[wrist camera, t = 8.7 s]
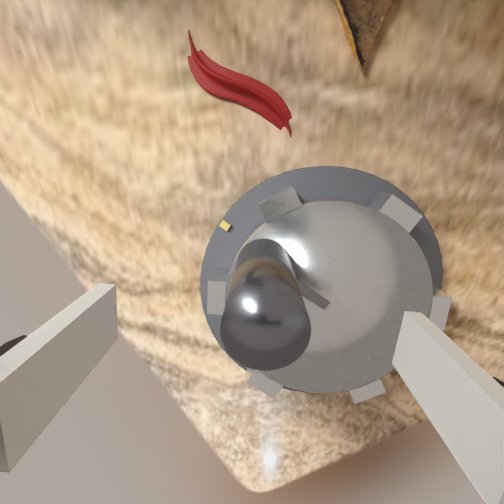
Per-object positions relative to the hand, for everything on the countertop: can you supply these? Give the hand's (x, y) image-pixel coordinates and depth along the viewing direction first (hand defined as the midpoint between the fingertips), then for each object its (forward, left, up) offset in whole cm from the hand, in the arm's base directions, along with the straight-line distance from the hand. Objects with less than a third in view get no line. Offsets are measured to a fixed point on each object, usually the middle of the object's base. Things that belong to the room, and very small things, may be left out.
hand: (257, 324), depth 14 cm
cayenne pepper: (-13, -3, -15) cm, 20 cm away
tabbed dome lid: (+3, +6, -13) cm, 14 cm away
